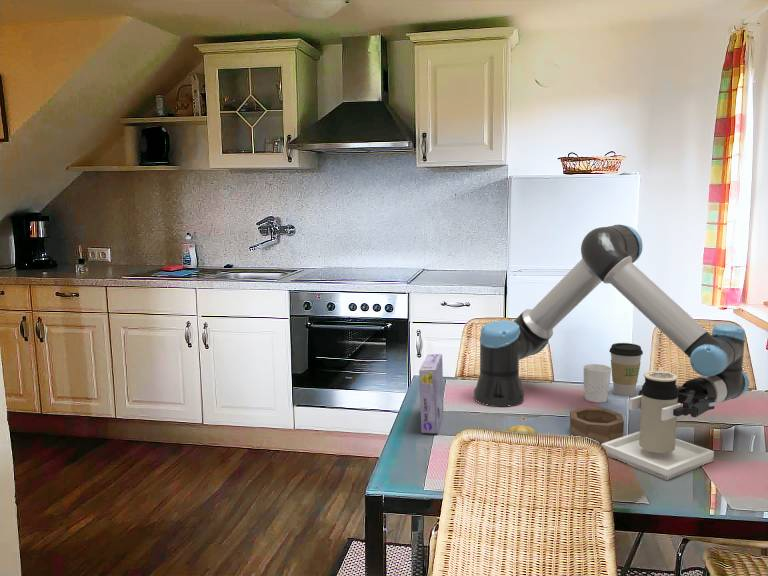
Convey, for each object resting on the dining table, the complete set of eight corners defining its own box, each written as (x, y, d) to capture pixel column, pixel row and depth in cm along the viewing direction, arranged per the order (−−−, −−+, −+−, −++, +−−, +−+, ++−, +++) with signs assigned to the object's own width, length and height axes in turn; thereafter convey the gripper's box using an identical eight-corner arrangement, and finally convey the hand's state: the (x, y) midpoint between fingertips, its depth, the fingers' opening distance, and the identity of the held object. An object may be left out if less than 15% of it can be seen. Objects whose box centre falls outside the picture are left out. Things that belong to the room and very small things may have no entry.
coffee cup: (643, 398, 204) (645, 350, 202) (609, 396, 206) (611, 349, 204) (638, 388, 213) (640, 342, 211) (605, 387, 215) (607, 341, 213)
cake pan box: (427, 410, 196) (427, 351, 193) (444, 411, 195) (445, 352, 192) (418, 434, 178) (418, 370, 175) (437, 435, 177) (437, 370, 174)
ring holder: (559, 432, 178) (560, 414, 177) (592, 422, 185) (593, 404, 184) (599, 447, 167) (600, 428, 166) (632, 436, 174) (633, 418, 173)
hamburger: (504, 473, 153) (504, 423, 151) (503, 460, 160) (504, 412, 158) (538, 475, 152) (539, 425, 150) (536, 462, 159) (538, 414, 157)
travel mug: (682, 451, 158) (686, 378, 155) (653, 456, 156) (657, 381, 153) (659, 439, 166) (663, 369, 163) (632, 443, 163) (635, 372, 161)
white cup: (580, 394, 208) (581, 363, 207) (606, 395, 207) (608, 364, 206) (584, 402, 201) (585, 370, 199) (611, 403, 200) (613, 371, 198)
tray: (600, 453, 164) (601, 443, 163) (647, 437, 173) (647, 428, 173) (666, 480, 149) (667, 469, 148) (713, 461, 158) (714, 451, 158)
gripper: (742, 417, 161) (686, 438, 148) (665, 395, 178) (609, 412, 166) (745, 387, 159) (688, 406, 147) (666, 368, 177) (610, 383, 164)
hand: (646, 409), depth 156 cm, fingers closed on travel mug, 8 cm apart
